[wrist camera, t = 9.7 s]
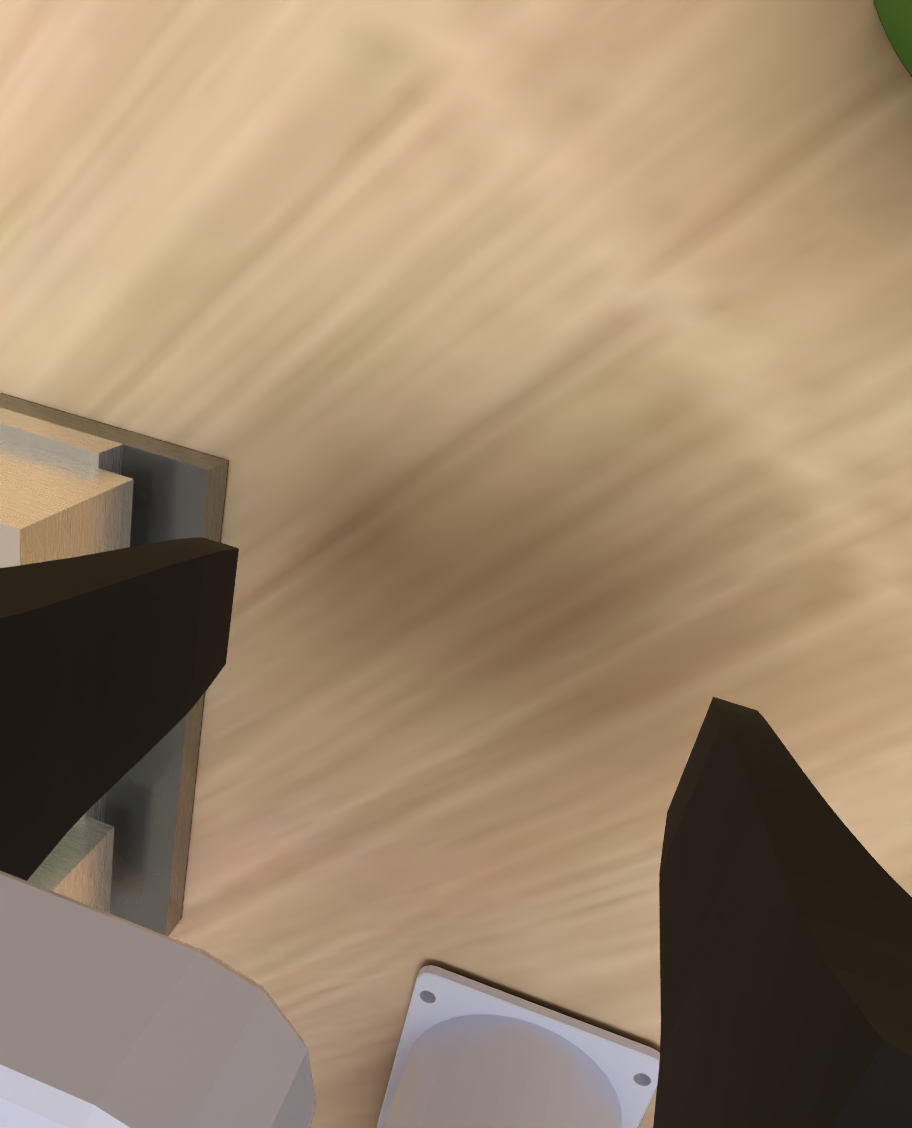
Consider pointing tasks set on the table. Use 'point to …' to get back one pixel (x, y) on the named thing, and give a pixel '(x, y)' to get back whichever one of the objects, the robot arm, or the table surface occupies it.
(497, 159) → the table surface
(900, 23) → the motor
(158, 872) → the rail board
